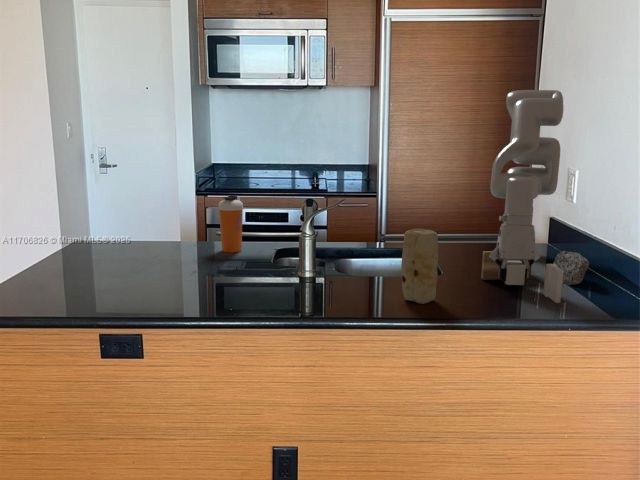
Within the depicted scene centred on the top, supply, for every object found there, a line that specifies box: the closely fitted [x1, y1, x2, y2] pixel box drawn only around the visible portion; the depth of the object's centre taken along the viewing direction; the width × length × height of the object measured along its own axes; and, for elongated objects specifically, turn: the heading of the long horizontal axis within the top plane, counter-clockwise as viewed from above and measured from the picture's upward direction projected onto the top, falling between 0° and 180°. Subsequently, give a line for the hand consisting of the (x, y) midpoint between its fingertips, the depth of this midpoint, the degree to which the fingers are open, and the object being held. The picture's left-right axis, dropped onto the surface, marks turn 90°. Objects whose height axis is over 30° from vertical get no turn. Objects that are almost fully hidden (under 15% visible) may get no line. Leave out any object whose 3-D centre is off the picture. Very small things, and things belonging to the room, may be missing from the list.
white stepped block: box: [498, 261, 526, 286], centre depth 173 cm, size 8×5×6 cm, turn 0°
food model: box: [400, 228, 439, 305], centre depth 158 cm, size 10×7×20 cm
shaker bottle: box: [218, 195, 244, 254], centre depth 213 cm, size 9×9×20 cm
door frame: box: [542, 263, 563, 304], centre depth 174 cm, size 2×33×9 cm, turn 0°
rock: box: [552, 250, 590, 286], centre depth 180 cm, size 16×8×10 cm, turn 173°
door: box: [480, 250, 533, 281], centre depth 181 cm, size 3×16×9 cm, turn 96°
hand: (512, 280), depth 172 cm, fingers closed on white stepped block, 5 cm apart
